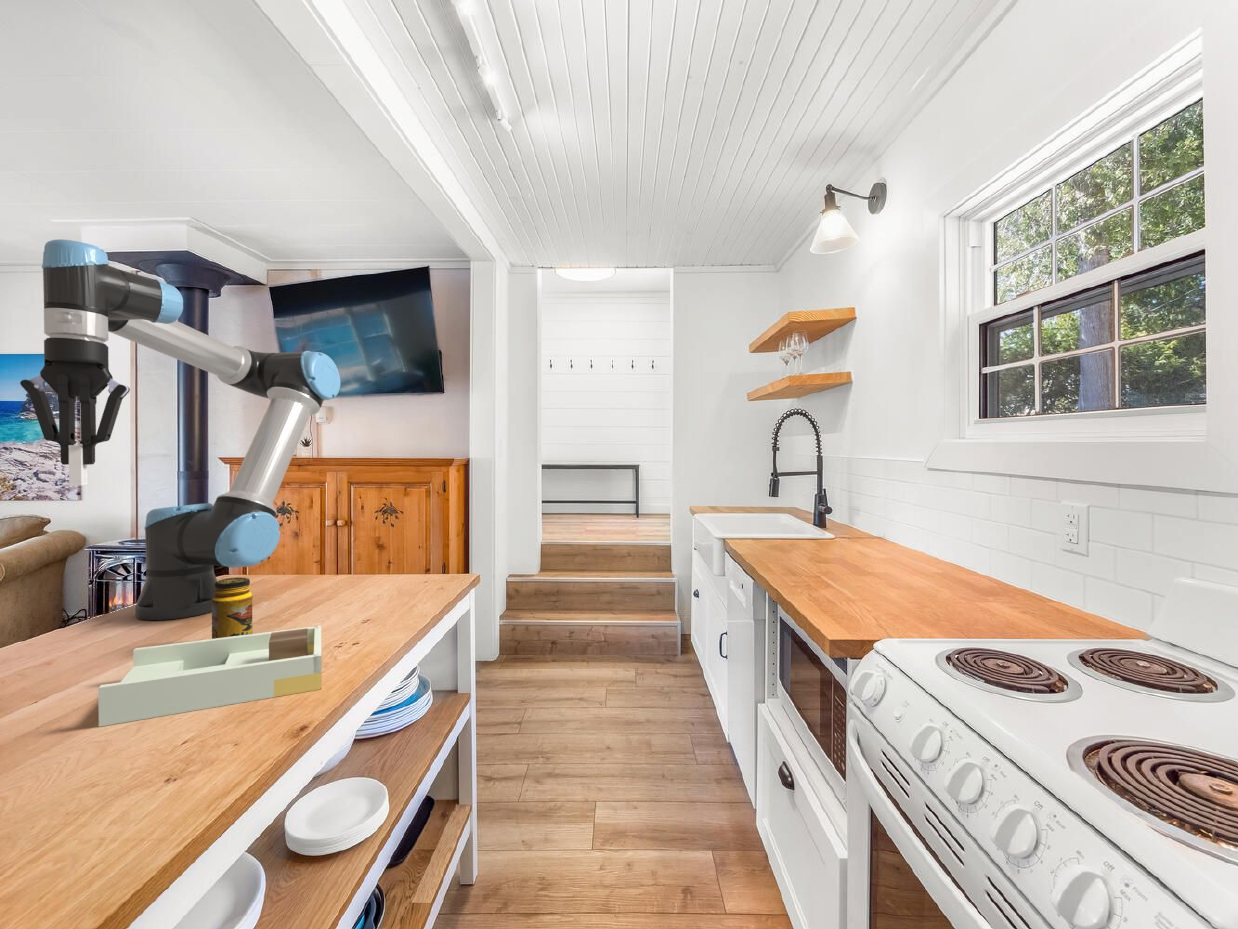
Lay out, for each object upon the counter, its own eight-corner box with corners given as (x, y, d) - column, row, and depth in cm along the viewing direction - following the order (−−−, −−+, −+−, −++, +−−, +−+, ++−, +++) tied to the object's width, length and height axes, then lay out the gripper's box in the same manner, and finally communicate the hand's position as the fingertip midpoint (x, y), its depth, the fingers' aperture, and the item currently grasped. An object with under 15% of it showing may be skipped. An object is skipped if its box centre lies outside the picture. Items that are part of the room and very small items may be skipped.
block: (271, 657, 88) (271, 632, 88) (307, 652, 90) (307, 628, 90) (268, 668, 84) (268, 642, 84) (306, 663, 86) (306, 637, 86)
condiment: (254, 648, 99) (254, 581, 99) (195, 657, 95) (195, 587, 94) (254, 636, 105) (254, 574, 105) (198, 645, 101) (198, 579, 101)
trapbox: (135, 680, 85) (135, 648, 85) (321, 654, 97) (321, 625, 97) (98, 726, 71) (98, 688, 71) (321, 689, 83) (321, 655, 82)
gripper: (9, 331, 84) (11, 487, 85) (122, 340, 90) (123, 485, 91) (32, 340, 91) (33, 484, 91) (135, 347, 97) (136, 483, 97)
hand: (78, 484), depth 91 cm, fingers closed
